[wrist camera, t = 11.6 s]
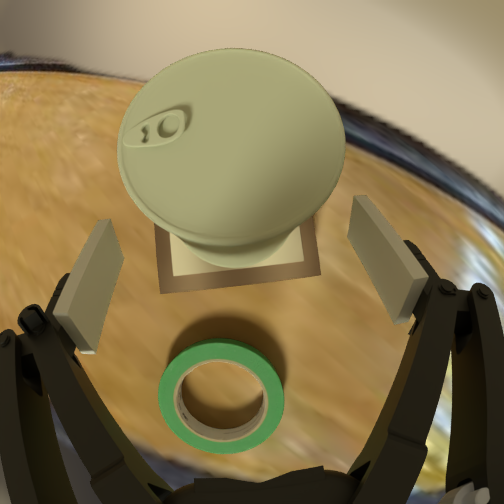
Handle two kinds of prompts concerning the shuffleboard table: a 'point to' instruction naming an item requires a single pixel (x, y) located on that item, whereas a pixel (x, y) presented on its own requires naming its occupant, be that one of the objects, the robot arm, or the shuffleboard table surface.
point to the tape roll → (213, 437)
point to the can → (231, 152)
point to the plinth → (211, 276)
